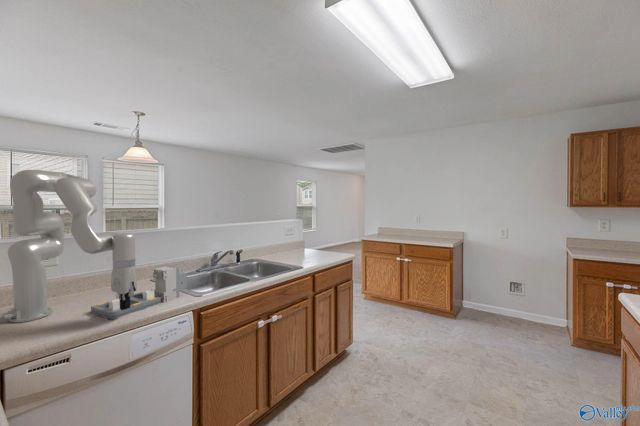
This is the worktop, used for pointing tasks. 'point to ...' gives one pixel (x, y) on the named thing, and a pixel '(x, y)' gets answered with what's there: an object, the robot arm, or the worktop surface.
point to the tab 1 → (114, 304)
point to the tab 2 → (148, 294)
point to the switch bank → (135, 305)
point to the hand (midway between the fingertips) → (125, 308)
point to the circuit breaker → (169, 282)
